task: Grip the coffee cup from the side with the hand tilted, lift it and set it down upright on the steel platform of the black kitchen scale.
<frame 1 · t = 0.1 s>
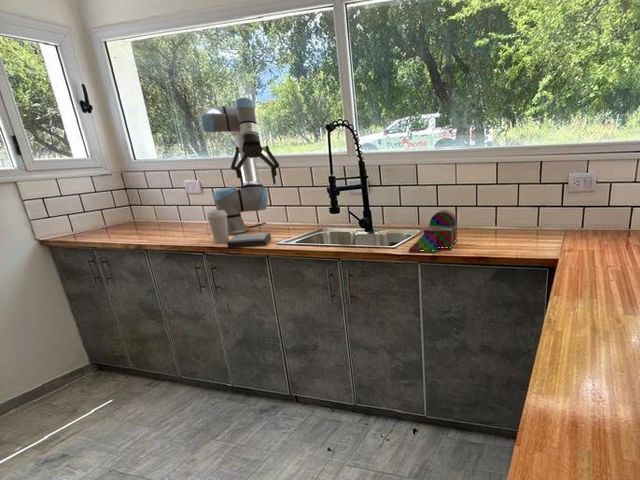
hand: (258, 184, 198), 28 cm above the worktop, tool tilted 20°, fingers open, 13 cm apart
block: (434, 246, 199), on the worktop
kitchen scale: (250, 243, 217), on the worktop
coffee cup: (221, 242, 221), on the worktop
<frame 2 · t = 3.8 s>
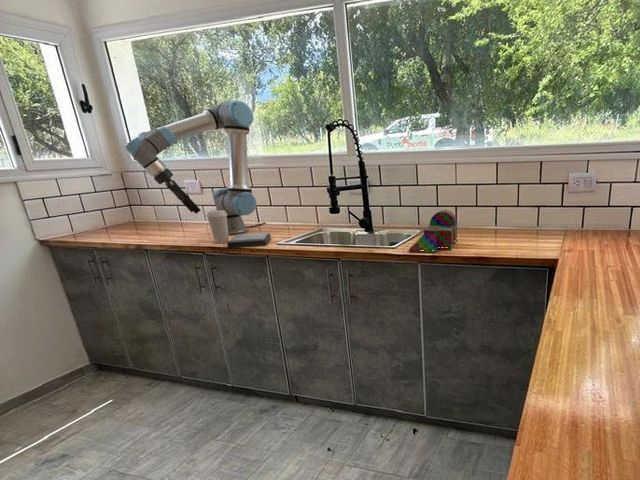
hand: (196, 211, 209), 16 cm above the worktop, tool tilted 30°, fingers open, 13 cm apart
nothing on the worktop moved.
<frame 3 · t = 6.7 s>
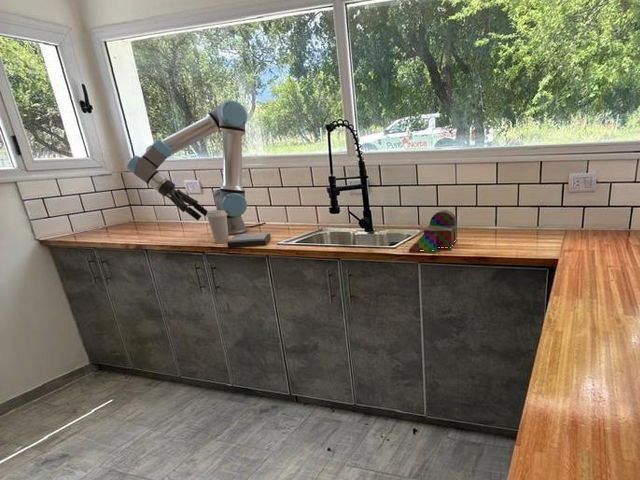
hand: (203, 216, 215), 13 cm above the worktop, tool tilted 45°, fingers open, 13 cm apart
nothing on the worktop moved.
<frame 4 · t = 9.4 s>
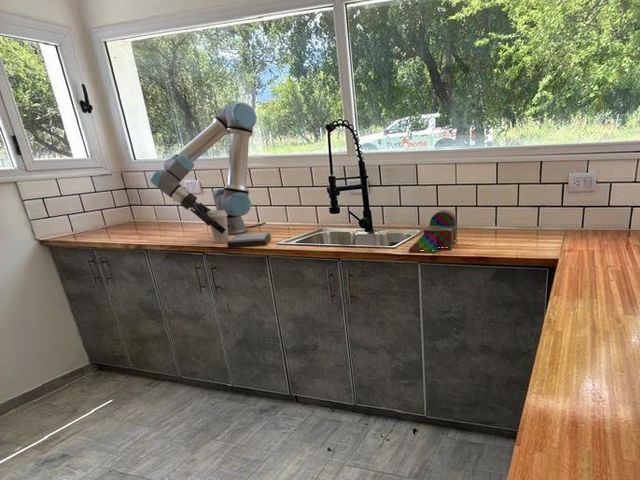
hand: (226, 229, 219), 6 cm above the worktop, tool tilted 45°, fingers closed on coffee cup, 10 cm apart
coffee cup: (221, 242, 221), on the worktop, touching gripper
everything else where it was.
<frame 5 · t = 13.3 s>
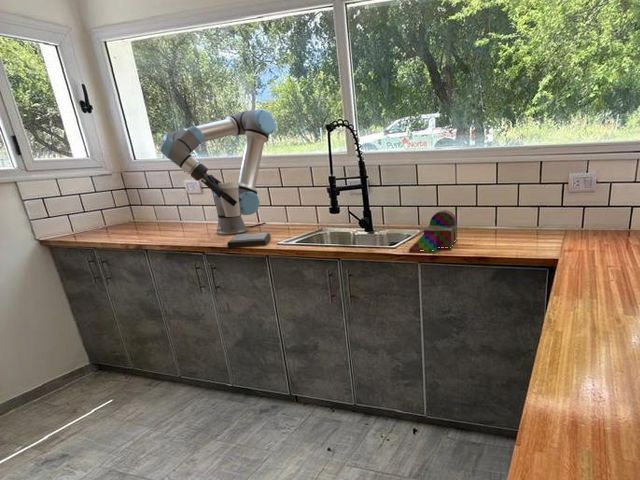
hand: (237, 202, 212), 19 cm above the worktop, tool tilted 45°, fingers closed on coffee cup, 10 cm apart
coffee cup: (233, 216, 214), point 13 cm above the worktop, touching gripper
everything else where it was.
when the fingers open (9 cm above the worktop, at t = 17.4 s): coffee cup stays where it is, resting on kitchen scale.
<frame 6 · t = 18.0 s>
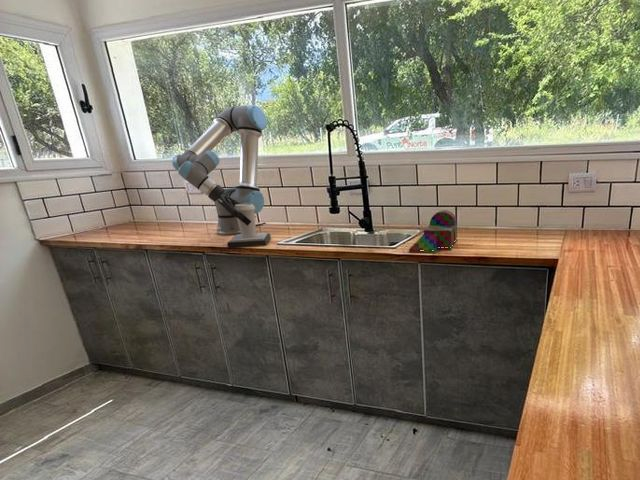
hand: (252, 221, 214), 10 cm above the worktop, tool tilted 45°, fingers open, 13 cm apart
coffee cup: (249, 236, 216), point 3 cm above the worktop, touching kitchen scale
everything else where it was.
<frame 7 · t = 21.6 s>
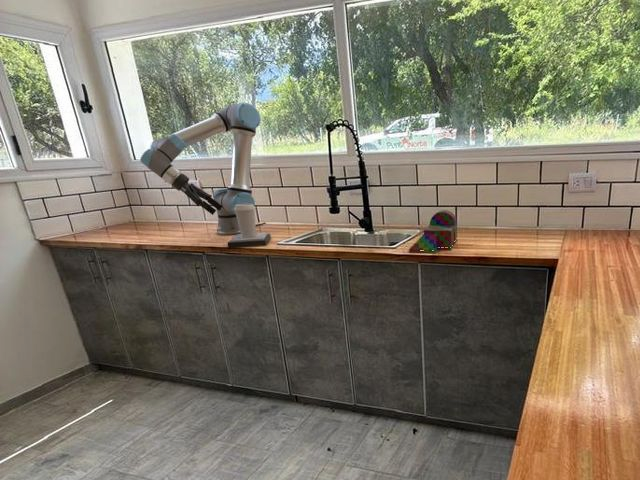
hand: (217, 210, 211), 16 cm above the worktop, tool tilted 45°, fingers open, 13 cm apart
nothing on the worktop moved.
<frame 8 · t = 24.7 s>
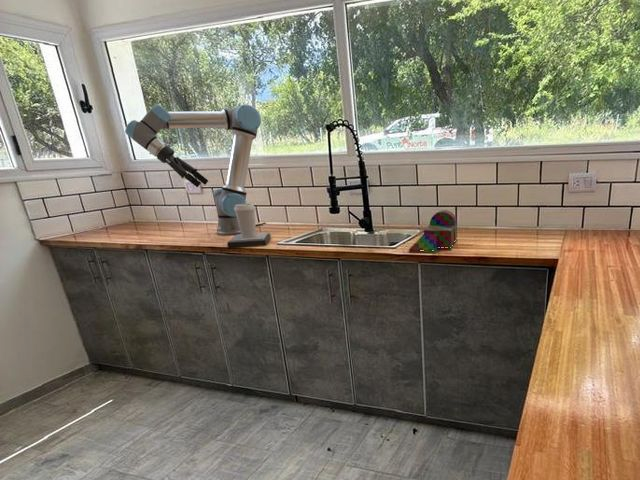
hand: (203, 184, 212), 28 cm above the worktop, tool tilted 45°, fingers open, 13 cm apart
nothing on the worktop moved.
at the end: coffee cup inside the target area on the kitchen scale (0.1 cm from its centre), point 3.0 cm above the kitchen scale's base; coffee cup tilted 0°; the gripper is holding nothing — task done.
